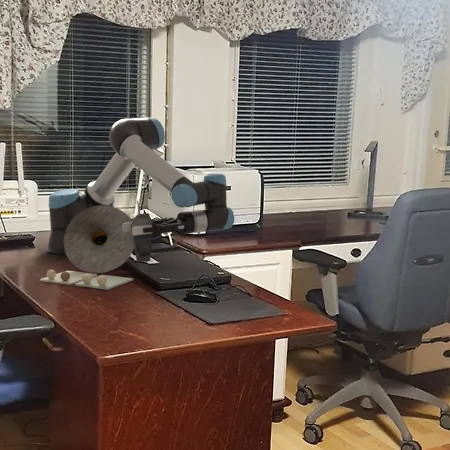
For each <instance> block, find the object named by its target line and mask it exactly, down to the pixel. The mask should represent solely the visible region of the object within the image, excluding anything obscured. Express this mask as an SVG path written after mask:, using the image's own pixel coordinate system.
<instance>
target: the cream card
mask: <svg viewBox="0 0 450 450" xmlns="http://www.w3.org/2000/svg"><path fill="white" fill-rule="evenodd" d="M85 274H89V275H91V277H92V278H94V277H97V276H98V273H90V272H84V271H71V270H65V271H61V272H59V273H56V271H55V269H49V270H47V272H46V277H42V278H40V279H39V281H40V282H46V283H53V284H60V285H61V284H62V285H69V286H70V285H74V284H75V283H78V282H81V281H82V277H83V276H84V275H85Z"/></svg>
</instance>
